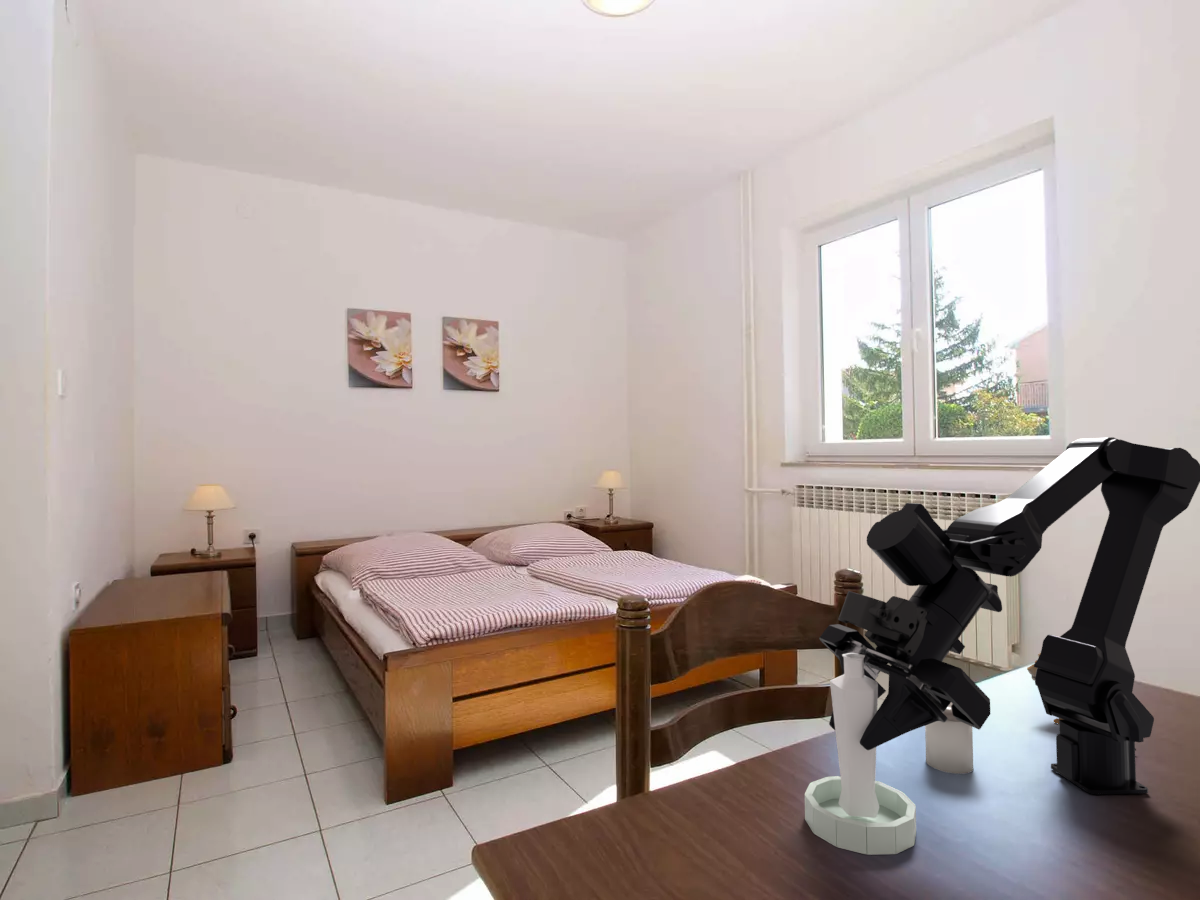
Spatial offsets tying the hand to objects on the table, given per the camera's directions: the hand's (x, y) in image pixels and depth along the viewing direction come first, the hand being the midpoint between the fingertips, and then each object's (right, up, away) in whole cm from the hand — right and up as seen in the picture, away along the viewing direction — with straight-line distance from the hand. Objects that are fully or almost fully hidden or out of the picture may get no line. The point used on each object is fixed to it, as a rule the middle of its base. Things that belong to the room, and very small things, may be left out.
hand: (847, 737), depth 66 cm
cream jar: (+17, -9, +13) cm, 23 cm away
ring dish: (+1, -9, 0) cm, 9 cm away
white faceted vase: (+2, -7, 0) cm, 7 cm away
